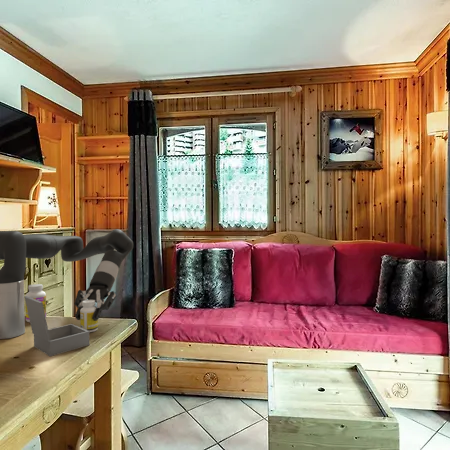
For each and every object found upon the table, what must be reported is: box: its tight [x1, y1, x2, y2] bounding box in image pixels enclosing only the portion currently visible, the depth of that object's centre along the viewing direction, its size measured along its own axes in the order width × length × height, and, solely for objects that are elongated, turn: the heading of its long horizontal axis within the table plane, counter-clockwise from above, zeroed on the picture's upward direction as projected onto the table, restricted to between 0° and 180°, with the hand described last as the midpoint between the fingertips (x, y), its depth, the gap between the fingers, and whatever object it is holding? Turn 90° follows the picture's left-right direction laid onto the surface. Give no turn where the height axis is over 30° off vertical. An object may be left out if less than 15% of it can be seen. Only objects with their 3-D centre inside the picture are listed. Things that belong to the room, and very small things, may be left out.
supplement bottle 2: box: [79, 299, 99, 333], centre depth 116 cm, size 5×5×10 cm
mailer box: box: [24, 295, 90, 357], centre depth 101 cm, size 11×13×15 cm
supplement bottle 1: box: [25, 283, 47, 323], centre depth 128 cm, size 7×7×13 cm
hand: (85, 319), depth 114 cm, fingers closed on supplement bottle 2, 5 cm apart
